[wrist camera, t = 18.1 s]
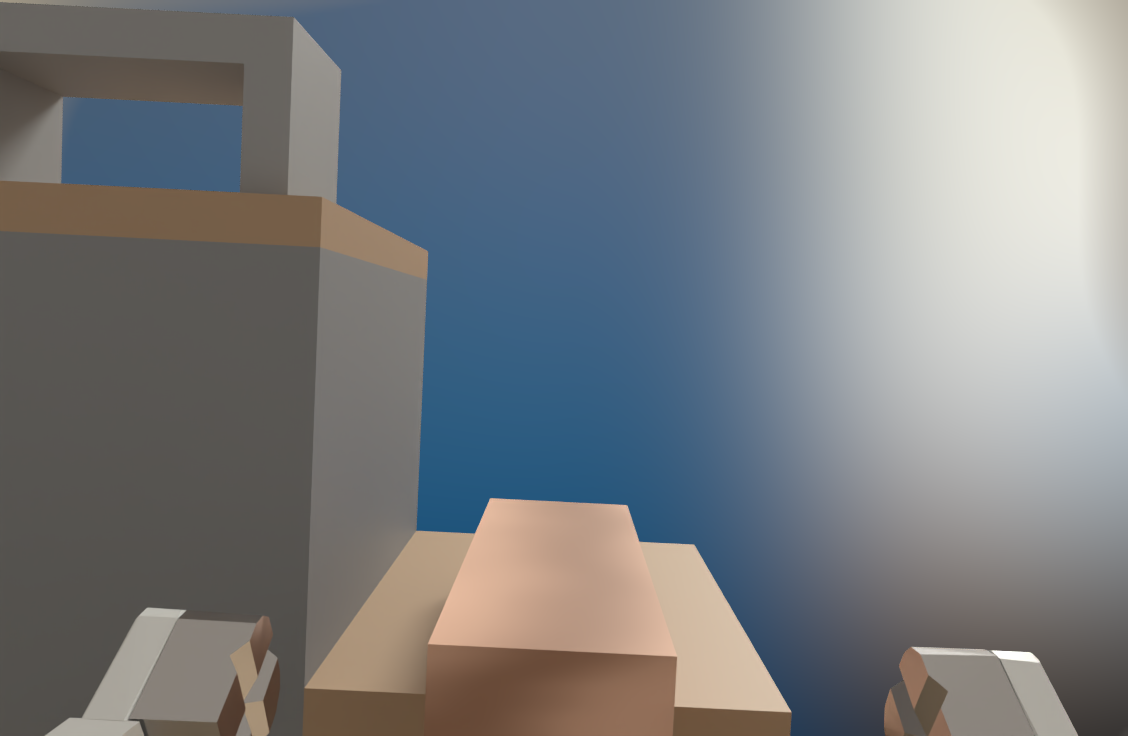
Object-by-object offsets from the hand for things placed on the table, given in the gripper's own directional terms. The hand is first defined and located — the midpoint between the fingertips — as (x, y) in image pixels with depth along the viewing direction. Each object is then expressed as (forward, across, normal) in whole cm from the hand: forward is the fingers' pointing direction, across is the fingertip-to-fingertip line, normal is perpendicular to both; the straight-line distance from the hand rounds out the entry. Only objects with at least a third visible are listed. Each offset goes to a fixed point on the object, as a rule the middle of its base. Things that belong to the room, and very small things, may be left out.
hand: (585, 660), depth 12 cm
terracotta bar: (+6, 0, -7) cm, 9 cm away
